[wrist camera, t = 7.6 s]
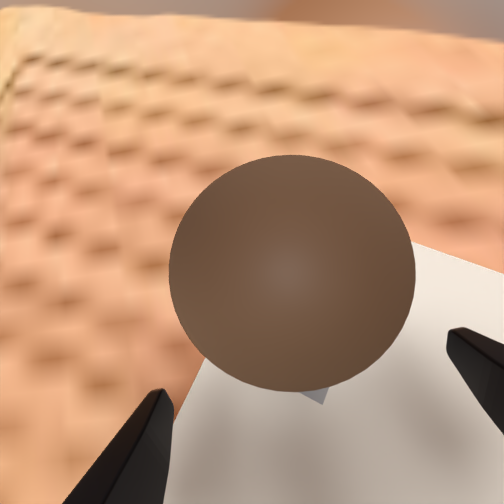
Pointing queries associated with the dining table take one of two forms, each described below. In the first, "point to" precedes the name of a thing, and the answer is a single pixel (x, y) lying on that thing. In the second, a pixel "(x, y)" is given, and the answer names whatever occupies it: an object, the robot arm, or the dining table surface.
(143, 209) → the dining table surface
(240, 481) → the stool seat
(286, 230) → the stool leg
